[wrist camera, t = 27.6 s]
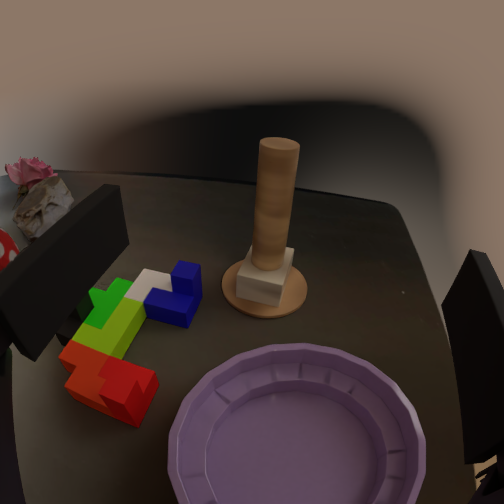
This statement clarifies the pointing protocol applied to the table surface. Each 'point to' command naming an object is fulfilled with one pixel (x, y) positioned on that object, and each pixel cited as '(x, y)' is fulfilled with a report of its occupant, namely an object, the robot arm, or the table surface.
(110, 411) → the building blocks
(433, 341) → the table surface
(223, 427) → the bowl
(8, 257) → the decorative mushroom
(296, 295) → the coaster
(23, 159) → the flower
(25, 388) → the table surface
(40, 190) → the stone
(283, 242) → the brush
